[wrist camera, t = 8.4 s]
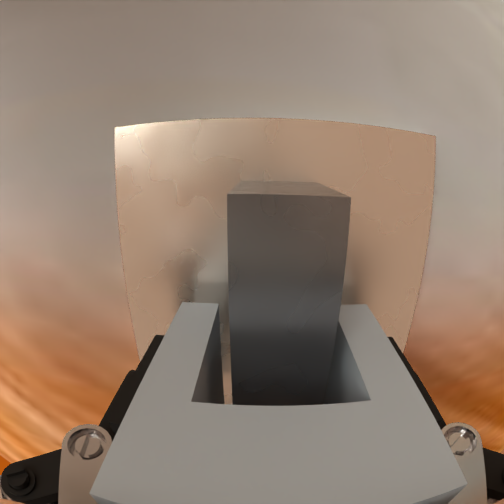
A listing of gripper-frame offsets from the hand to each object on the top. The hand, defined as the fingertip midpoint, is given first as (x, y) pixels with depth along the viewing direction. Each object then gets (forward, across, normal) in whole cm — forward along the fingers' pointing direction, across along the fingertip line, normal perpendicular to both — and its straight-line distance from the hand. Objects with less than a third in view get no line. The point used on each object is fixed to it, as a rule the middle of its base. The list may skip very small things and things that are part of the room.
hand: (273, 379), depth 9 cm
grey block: (+1, 0, 0) cm, 1 cm away
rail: (+3, 0, +5) cm, 6 cm away
